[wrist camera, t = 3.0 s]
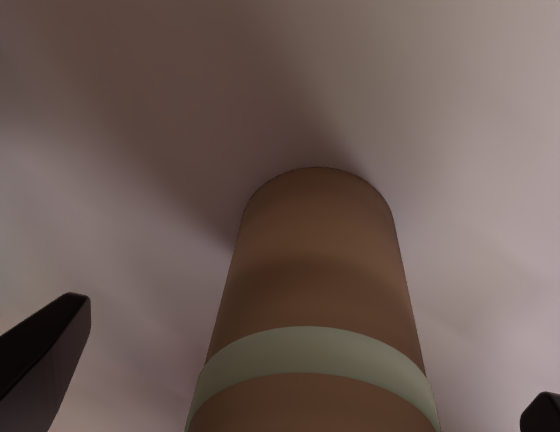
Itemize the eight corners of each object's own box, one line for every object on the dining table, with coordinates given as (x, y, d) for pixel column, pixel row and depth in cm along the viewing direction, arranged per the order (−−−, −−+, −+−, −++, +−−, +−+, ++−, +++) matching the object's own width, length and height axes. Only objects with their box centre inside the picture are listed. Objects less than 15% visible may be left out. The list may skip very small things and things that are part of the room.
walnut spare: (367, 305, 14) (398, 603, 8) (228, 275, 14) (155, 560, 8) (421, 186, 11) (518, 486, 6) (254, 148, 11) (178, 419, 5)
